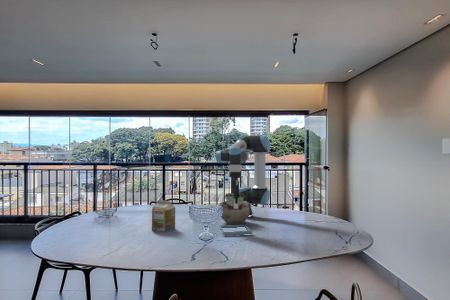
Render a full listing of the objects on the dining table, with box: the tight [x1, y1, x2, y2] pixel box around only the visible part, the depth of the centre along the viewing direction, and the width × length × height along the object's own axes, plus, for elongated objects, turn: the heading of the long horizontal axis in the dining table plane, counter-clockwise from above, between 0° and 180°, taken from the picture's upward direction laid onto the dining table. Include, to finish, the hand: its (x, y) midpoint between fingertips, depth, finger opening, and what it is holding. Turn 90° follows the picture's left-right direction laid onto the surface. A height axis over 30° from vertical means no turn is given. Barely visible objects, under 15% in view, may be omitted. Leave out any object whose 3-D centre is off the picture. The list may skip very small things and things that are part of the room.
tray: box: [218, 224, 253, 236], centre depth 185 cm, size 18×18×2 cm
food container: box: [224, 192, 245, 210], centre depth 186 cm, size 12×6×10 cm, turn 85°
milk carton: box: [151, 199, 176, 234], centre depth 190 cm, size 11×11×19 cm
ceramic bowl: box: [218, 200, 249, 225], centre depth 210 cm, size 22×22×15 cm
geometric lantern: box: [92, 171, 121, 219], centre depth 230 cm, size 16×16×35 cm
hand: (234, 207), depth 186 cm, fingers closed on food container, 7 cm apart
